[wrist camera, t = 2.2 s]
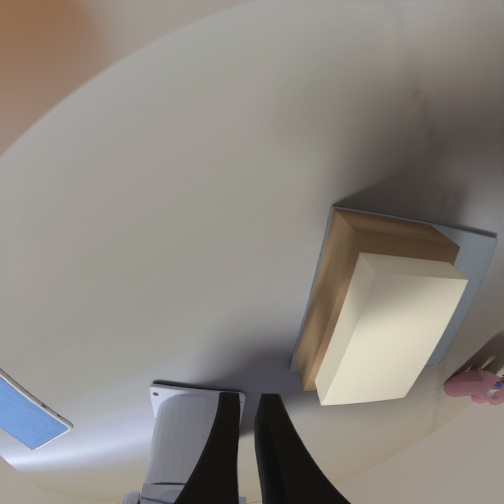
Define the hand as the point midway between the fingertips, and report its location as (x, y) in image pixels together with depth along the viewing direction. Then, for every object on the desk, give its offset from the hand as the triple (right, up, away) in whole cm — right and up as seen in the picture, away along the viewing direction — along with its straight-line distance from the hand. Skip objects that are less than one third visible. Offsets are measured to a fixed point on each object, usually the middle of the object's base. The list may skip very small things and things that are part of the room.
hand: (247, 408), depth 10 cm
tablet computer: (-32, -16, +17) cm, 40 cm away
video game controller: (+26, -8, +16) cm, 32 cm away
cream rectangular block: (+8, +2, +6) cm, 10 cm away
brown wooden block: (+7, +3, +9) cm, 12 cm away
